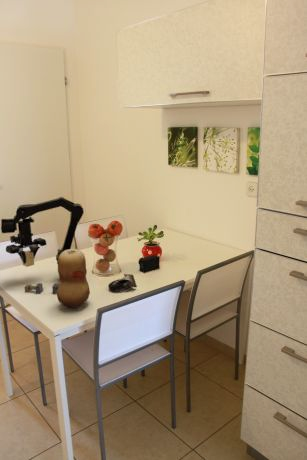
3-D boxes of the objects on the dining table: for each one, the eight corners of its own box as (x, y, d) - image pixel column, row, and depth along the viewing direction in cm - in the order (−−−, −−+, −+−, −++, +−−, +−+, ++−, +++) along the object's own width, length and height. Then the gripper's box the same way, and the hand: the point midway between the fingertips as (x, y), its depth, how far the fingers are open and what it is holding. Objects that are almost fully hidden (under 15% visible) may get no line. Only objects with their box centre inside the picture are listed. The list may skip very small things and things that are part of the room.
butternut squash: (66, 315, 159) (61, 258, 153) (53, 304, 170) (48, 250, 163) (96, 306, 167) (92, 251, 161) (82, 296, 178) (78, 243, 171)
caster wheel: (107, 294, 185) (122, 285, 191) (123, 296, 177) (137, 286, 183) (103, 282, 183) (118, 273, 190) (118, 283, 175) (133, 274, 182)
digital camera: (153, 266, 214) (153, 254, 212) (159, 268, 210) (159, 256, 208) (138, 270, 208) (137, 258, 206) (144, 273, 204) (143, 260, 202)
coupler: (30, 262, 193) (28, 250, 191) (34, 264, 190) (33, 252, 189) (22, 265, 190) (21, 252, 188) (27, 266, 188) (25, 254, 186)
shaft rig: (23, 293, 181) (22, 286, 180) (26, 289, 186) (26, 282, 185) (69, 294, 180) (69, 286, 179) (72, 290, 184) (71, 282, 183)
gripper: (33, 225, 198) (36, 254, 202) (-2, 232, 185) (2, 263, 189) (45, 228, 190) (48, 258, 194) (9, 236, 177) (13, 269, 181)
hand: (28, 262), depth 190 cm, fingers closed on coupler, 4 cm apart
